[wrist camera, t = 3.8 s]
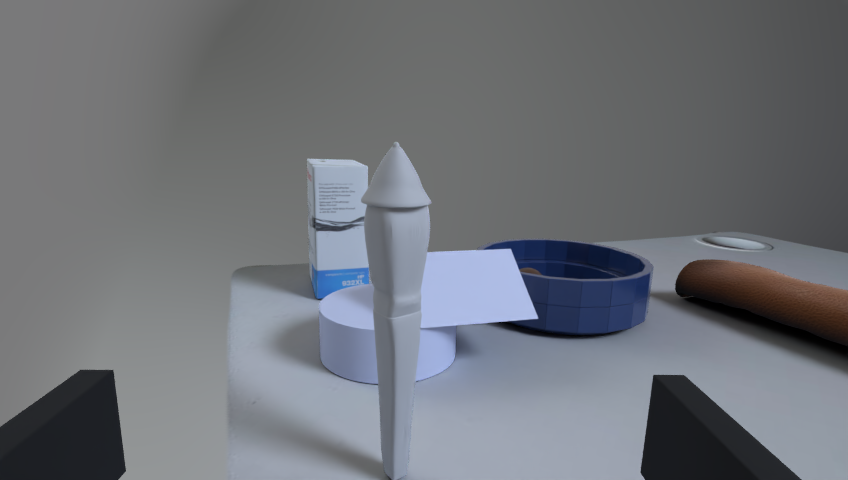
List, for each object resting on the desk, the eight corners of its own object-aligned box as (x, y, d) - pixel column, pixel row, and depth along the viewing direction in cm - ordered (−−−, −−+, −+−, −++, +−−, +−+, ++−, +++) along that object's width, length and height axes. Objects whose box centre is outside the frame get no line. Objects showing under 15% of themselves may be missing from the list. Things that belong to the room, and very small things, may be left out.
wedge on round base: (481, 317, 39) (316, 330, 36) (486, 235, 38) (314, 241, 34) (534, 368, 31) (324, 392, 27) (542, 265, 29) (321, 277, 26)
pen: (387, 507, 19) (389, 143, 16) (351, 470, 21) (347, 140, 18) (436, 479, 21) (446, 143, 18) (398, 448, 23) (401, 141, 20)
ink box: (370, 296, 44) (369, 163, 41) (313, 300, 42) (310, 163, 40) (356, 270, 52) (355, 158, 49) (308, 273, 50) (305, 158, 48)
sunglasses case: (1000, 362, 32) (999, 283, 29) (939, 432, 30) (932, 354, 28) (733, 284, 48) (718, 229, 45) (685, 327, 46) (666, 272, 44)
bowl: (444, 315, 39) (446, 261, 38) (507, 274, 51) (510, 232, 50) (632, 358, 32) (640, 293, 31) (654, 299, 44) (660, 251, 43)
